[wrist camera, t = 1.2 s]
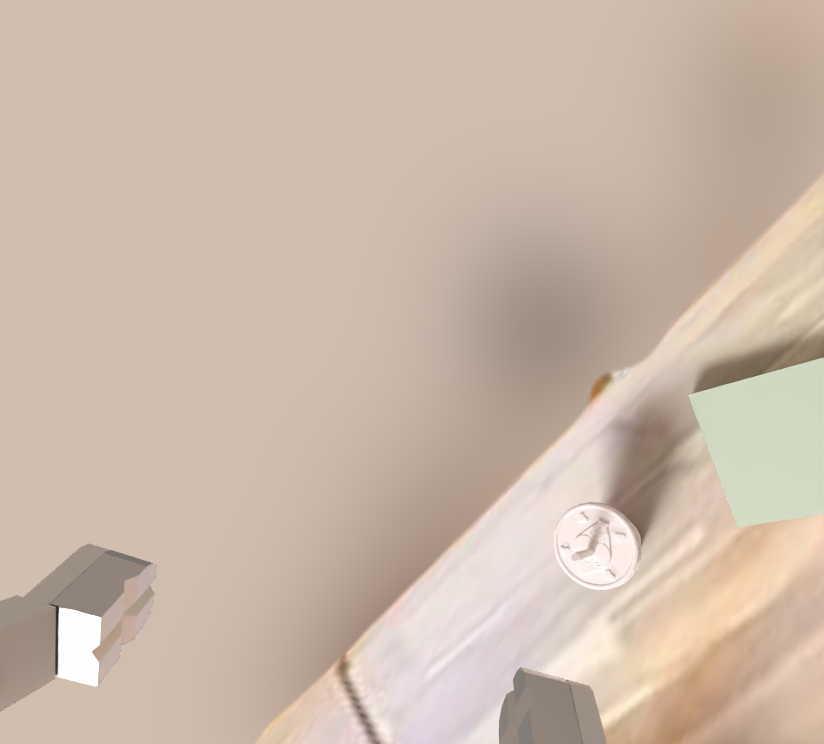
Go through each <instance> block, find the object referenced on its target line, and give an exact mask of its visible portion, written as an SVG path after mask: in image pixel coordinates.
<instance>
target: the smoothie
mask: <svg viewBox="0 0 824 744" xmlns="http://www.w3.org/2000/svg"><path fill="white" fill-rule="evenodd" d="M553 545H554V551H555V555H556V557H557V560H558V562H559V564H560V566H561V567H562V569H563V570H564V571H565V572H566V574H567V575H568V576H569V577H570V578H572V579H573V580H574V581H576V582H577V583H579V584H581V585H583V586H585V587H588V588H591V589H597V590H605V589H611V588H615V587H617V586H620V585H622V584H624V583H625V582H627V581H628V580H629V579H630V578H631V577H632V576H633V575H634V573H635V571H636V570H637V568H638V566H639V562H640V558H641V536H640V533H639V531H638V529H637V528H636V526H635V525H634V524H633V523H631V522H630V521H629V519H628V518H627V517H626V516H625V515H624V514H623V513H621V512H620V511H618V510H617V509H615V508H613V507H612V506H609V505H606V504H603V503H594V502H589V503H584V504H579V505H577V506H574V507H572V508H571V509H569V510H568V511H566V512H565V513H564V514H563V515H562V517H561V518H560V519H559V521H558V523H557V525H556V528H555V531H554V537H553Z"/></svg>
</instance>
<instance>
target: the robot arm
mask: <svg viewBox="0 0 824 744" xmlns="http://www.w3.org/2000/svg"><path fill="white" fill-rule="evenodd" d="M155 578H156V565H155V564H153V563H151V562H147V561H144V560H141V559H138V558H135V557H132V556H128V555H125V554H122V553H118V552H115V551H112V550H108V549H105V548H101V547H98V546H95V545H92V544H87V545H85V546H82V547H81V548H79V549H78V550H77V551H76V552H75V553H73V554H72V555H71V556H70V557H69V558H68V559H67V560H65V561H64V562H63V563H62V564H61V565H60V566H59V567H57V568H56V569H55V570H54V571H53V572H52V573H51V574H49V575H48V576H47V577H46V578H45V579H44V580H43V581H41V582H40V583H39V584H38V585H37V586H36V587H35V588H33V589H32V590H31V591H30V592H29V593H28V594H26V595H25V596H24V597H20V596H17V595H16V596H14V597H11V598H8V599H6V600H3V601H0V711H2V710H4V709H5V708H7V707H9V706H10V705H12V704H14V703H16V702H17V701H19V700H21V699H22V698H24V697H25V696H27V695H29V694H30V693H32V692H34V691H36V690H37V689H39V688H41V687H42V686H44V685H46V684H47V683H49V682H51V681H52V680H54V679H55V676H57V677H61V678H65V679H69V680H73V681H77V682H81V683H85V684H89V685H92V686H96V687H97V686H98V685H99V684H100V683H101V682H102V680H103V679H104V678H105V676H106V675H107V674H108V672H109V671H110V670H111V668H112V667H113V666H114V664H116V662H117V661H118V660H119V658H120V651H121V646H122V645H124V644H126V643H128V642H130V641H132V640H134V639H135V638H136V636H137V635H138V634H139V632H140V631H141V630H142V628H143V626H144V624H145V623H146V621H147V619H148V617H149V615H150V613H151V609H152V606H153V602H154V592H153V590H152V589H151V587H150V584H151V583H152V582H153V581H154V579H155ZM513 684H514V690H513V691H511V692H510V693H508V694H506V697H505V699H504V702H503V705H502V709H501V714H500V719H499V744H607V741H606V738H605V734H604V730H603V726H602V723H601V719H600V715H599V712H598V708H597V704H596V700H595V697H594V693H593V690H592V689H591V688H590V686H588V685H584V684H580V683H577V682H573V681H569V680H565V679H563V678H559V677H555V676H552V675H548V674H544V673H540V672H537V671H533V670H529V669H526V668H522V667H520V668H519V669H518V670H517V672H516V674H515V676H514V678H513Z"/></svg>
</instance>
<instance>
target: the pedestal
mask: <svg viewBox="0 0 824 744" xmlns="http://www.w3.org/2000/svg"><path fill="white" fill-rule="evenodd" d="M688 397H689V399H690V402H691V405H692V407H693V410H694V413H695V415H696V418H697V421H698V423H699V426H700V428H701V431H702V434H703V436H704V439H705V442H706V444H707V447H708V450H709V452H710V455H711V458H712V460H713V463H714V466H715V468H716V471H717V474H718V476H719V479H720V482H721V484H722V487H723V489H724V492H725V495H726V497H727V500H728V503H729V505H730V508H731V511H732V513H733V516H734V519H735V521H736V524H737V527H743V526H749V525H756V524H762V523H769V522H775V521H782V520H788V519H795V518H801V517H808V516H814V515H821V514H824V358H820V359H816V360H813V361H809V362H805V363H802V364H798V365H795V366H791V367H787V368H784V369H780V370H776V371H773V372H769V373H765V374H762V375H758V376H755V377H751V378H747V379H744V380H740V381H736V382H733V383H729V384H726V385H722V386H718V387H715V388H711V389H707V390H704V391H700V392H697V393H693V394H689V395H688Z"/></svg>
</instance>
